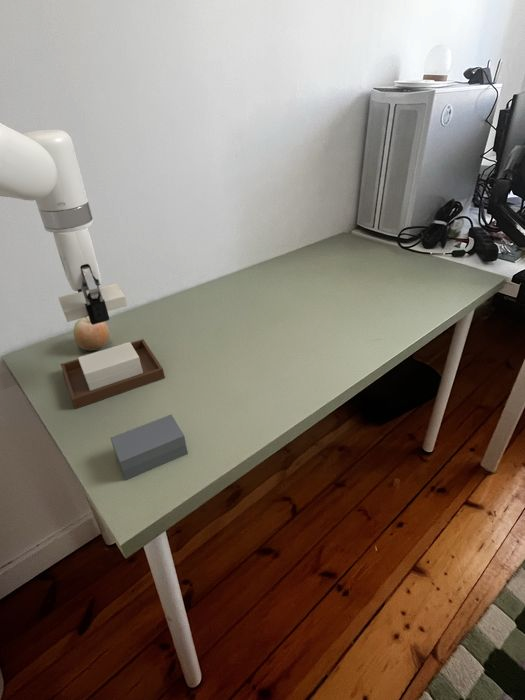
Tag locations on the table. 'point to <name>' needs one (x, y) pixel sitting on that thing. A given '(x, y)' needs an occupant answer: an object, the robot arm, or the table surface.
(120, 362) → the white book upper
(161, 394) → the table surface
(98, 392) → the book tray
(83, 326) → the fruit
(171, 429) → the grey book upper
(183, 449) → the grey book lower
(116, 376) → the white book lower
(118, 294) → the white book
